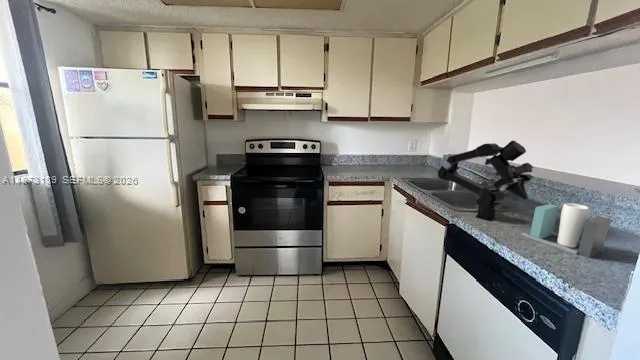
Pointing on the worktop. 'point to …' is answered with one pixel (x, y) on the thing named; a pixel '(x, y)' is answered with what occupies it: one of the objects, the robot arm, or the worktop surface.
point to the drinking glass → (571, 224)
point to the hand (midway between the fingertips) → (526, 199)
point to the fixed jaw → (586, 237)
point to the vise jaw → (544, 221)
